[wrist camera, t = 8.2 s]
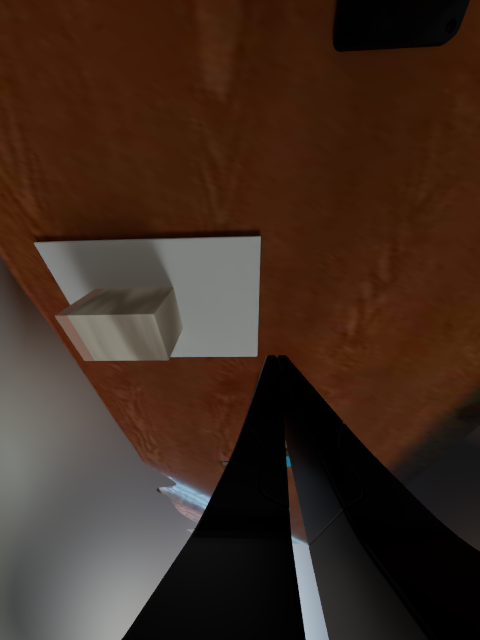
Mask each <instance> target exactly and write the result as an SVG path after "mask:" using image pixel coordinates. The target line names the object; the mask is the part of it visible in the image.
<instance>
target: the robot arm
mask: <svg viewBox="0 0 480 640" xmlns="http://www.w3.org/2000/svg"><path fill="white" fill-rule="evenodd" d="M469 1H470V0H339V2H338V9H337V16H336V23H335V30H334V37H333V45H334V48H335V49H336V50H337V51H339V52H344V51H362V50H379V49H397V48H415V47H432V46H441V45H444V44H445V43H446V42H448V41H449V40H450V39H452V38H453V37H454V36H455V35H456V33H457V32H458V30H459V28H460V26H461V23H462V20H463V17H464V15H465V12H466V9H467V6H468V4H469ZM447 24H449V26H450V30H449V33H448V34H446V32H445V28H446V25H447ZM342 30H346V32H347V39H346V40H342V38H341V31H342ZM285 441H286V442H285ZM286 445H287V450H288V454H289V459H290V463H291V468H292V473H293V477H294V482H295V486H296V491H297V495H298V500H299V504H300V509H301V514H302V518H303V523H304V527H305V532H306V536H307V541H308V545H309V550H310V554H311V559H312V564H313V569H314V573H315V577H316V582H317V586H318V591H319V596H320V600H321V605H322V609H323V614H324V618H325V623H326V627H327V632H328V637H329V640H480V551H478V550H477V549H475V548H474V547H472V546H471V545H470V544H468V543H467V542H466V541H464V540H463V539H461V538H460V537H458V535H456V534H455V533H454V532H453V531H451V530H450V529H449V528H448V527H447V526H445V525H444V524H443V523H442V522H441V521H440V520H438V519H437V518H436V517H435V516H434V515H433V514H432V513H431V512H430V511H429V510H428V509H427V508H426V507H425V506H424V505H423V504H422V503H421V502H420V501H419V500H418V499H417V498H416V497H415V496H414V495H413V494H412V493H411V492H410V491H409V490H408V489H407V488H406V487H405V486H404V485H403V484H402V483H401V482H400V481H399V480H398V479H397V478H396V477H395V476H394V475H393V474H392V473H391V472H390V471H389V470H388V469H387V468H386V467H385V466H384V465H383V464H382V463H381V462H380V461H379V460H378V459H377V458H376V457H375V456H374V455H373V454H372V453H371V452H370V451H369V450H368V449H367V448H366V447H365V446H364V445H363V444H362V442H361V441H360V440H359V439H358V438H357V437H356V436H355V435H354V434H353V432H352V431H351V430H350V429H349V428H348V427H347V425H346V424H343V421H342V420H341V419H340V417H339V416H338V415H337V414H336V413H335V412H334V411H333V409H332V408H331V407H330V406H329V405H328V404H327V402H326V401H325V400H324V399H323V398H322V397H321V395H320V394H319V393H318V392H317V391H316V390H315V389H314V387H313V386H312V385H311V384H310V383H309V382H308V380H307V379H306V378H305V377H304V376H303V375H302V373H301V372H300V371H299V370H298V369H297V368H296V367H295V365H294V364H293V363H292V362H291V361H290V360H289V358H288V357H287V356H285V355H277V356H275V355H267V356H266V359H265V362H264V365H263V368H262V370H261V373H260V376H259V379H258V382H257V385H256V388H255V391H254V394H253V397H252V400H251V403H250V406H249V409H248V412H247V415H246V418H245V421H244V423H243V426H242V429H241V432H240V435H239V438H238V440H237V443H236V446H235V448H234V450H233V453H232V455H231V457H230V459H229V462H228V464H227V466H226V468H225V470H224V472H223V474H222V476H221V478H220V480H219V482H218V484H217V487H216V489H215V491H214V493H213V495H212V497H211V499H210V501H209V503H208V505H207V507H206V509H205V511H204V513H203V515H202V517H201V519H200V521H199V522H198V524H197V526H196V528H195V530H194V531H193V533H192V535H191V537H190V538H189V540H188V541H187V543H186V544H185V546H184V547H183V549H182V550H181V552H180V553H179V555H178V556H177V558H176V559H175V561H174V562H173V564H172V565H171V567H170V568H169V570H168V571H167V573H166V574H165V576H164V578H163V579H162V580H161V582H160V583H159V585H158V586H157V588H156V589H155V591H154V592H153V594H152V595H151V597H150V598H149V600H148V601H147V603H146V604H145V606H144V607H143V609H142V610H141V612H140V613H139V615H138V616H137V618H136V619H135V621H134V622H133V624H132V625H131V627H130V628H129V630H128V631H127V633H126V634H125V636H124V637H123V638H122V640H306V639H305V632H304V625H303V619H302V612H301V604H300V597H299V590H298V583H297V576H296V568H295V561H294V554H293V547H292V538H291V527H290V513H289V495H288V478H287V460H286Z"/></svg>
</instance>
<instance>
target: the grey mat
mask: <svg viewBox="0 0 480 640" xmlns="http://www.w3.org/2000/svg"><path fill="white" fill-rule="evenodd" d="M260 242H261V236H235V237H197V238H160V239H123V240H86V241H49V242H35V243H34V244H35V246H36V248H37V249H38V251H39V253H40V254H41V256H42V258H43V259H44V261H45V263H46V265H47V266H48V268H49V270H50V271H51V273H52V275H53V276H54V278H55V280H56V281H57V283H58V285H59V287H60V288H61V290H62V292H63V293H64V295H65V297H66V298H67V300H68V302H69V304H70V305H71V304H73V303H74V302H76V301H78V300H79V299H81V298H82V297H84V296H85V295H87V294H88V293H90V292H91V291H93V290H94V289H120V288H172V287H173V288H174V292H175V296H176V300H177V304H178V309H179V313H180V317H181V321H182V325H183V330H182V332H181V334H180V336H179V339H178V341H177V343H176V345H175V348H174V350H173V352H172V354H171V357H241V356H257V348H258V312H259V277H260Z"/></svg>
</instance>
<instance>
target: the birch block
mask: <svg viewBox="0 0 480 640" xmlns="http://www.w3.org/2000/svg"><path fill="white" fill-rule="evenodd" d="M55 317H56V319H57V320H58V322H59V323H60V325H61V326H62V328H63V329H64V331H65V332H66V334H67V335H68V337H69V338H70V340H71V341H72V343H73V344H74V346H75V347H76V349H77V350H78V352H79V353H80V355H81V356H82V358H83V359H84V361H118V360H169V359H170V357H171V354H172V352H173V350H174V348H175V345H176V343H177V341H178V339H179V336H180V334H181V332H182V330H183V325H182V321H181V317H180V313H179V309H178V304H177V300H176V296H175V292H174V288H173V287H172V288H120V289H94V290H93V291H91V292H90V293H88V294H87V295H85V296H84V297H82V298H81V299H79V300H78V301H76V302H74V303H73V304H71V305H70V306H68V307H67V308H65V309H64V310H62V311H61V312H59V313H58V314H56V315H55Z"/></svg>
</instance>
